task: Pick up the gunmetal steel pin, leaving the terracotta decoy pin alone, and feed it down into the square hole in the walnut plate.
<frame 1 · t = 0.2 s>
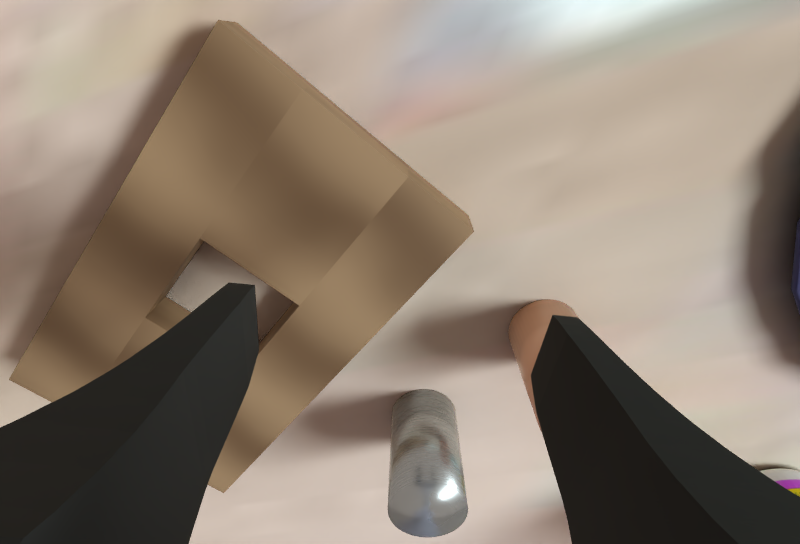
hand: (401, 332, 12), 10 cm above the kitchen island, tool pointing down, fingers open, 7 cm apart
walnut plate: (236, 290, 23), on the kitchen island
steel pin: (423, 414, 26), on the kitchen island
supplement bottle: (759, 500, 29), on the kitchen island
terracotta pin: (543, 330, 24), on the kitchen island
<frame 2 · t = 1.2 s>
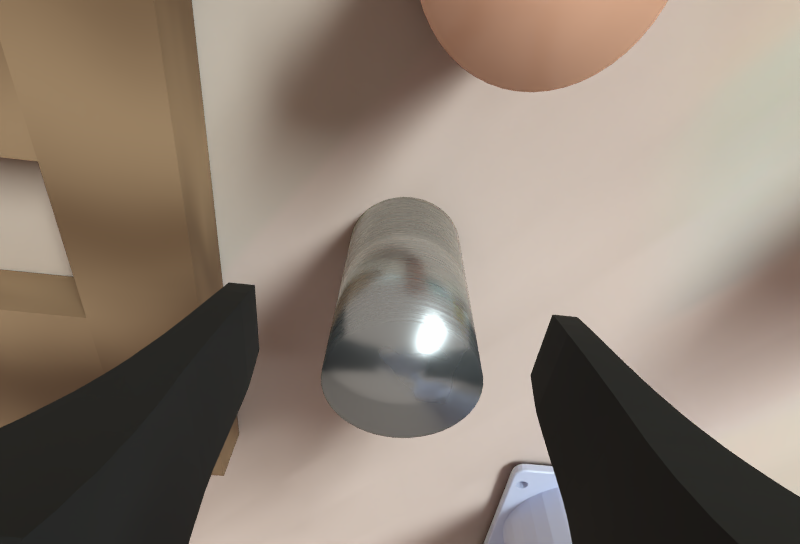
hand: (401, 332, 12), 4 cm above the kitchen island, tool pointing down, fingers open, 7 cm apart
walnut plate: (21, 207, 15), on the kitchen island
steel pin: (404, 247, 15), on the kitchen island
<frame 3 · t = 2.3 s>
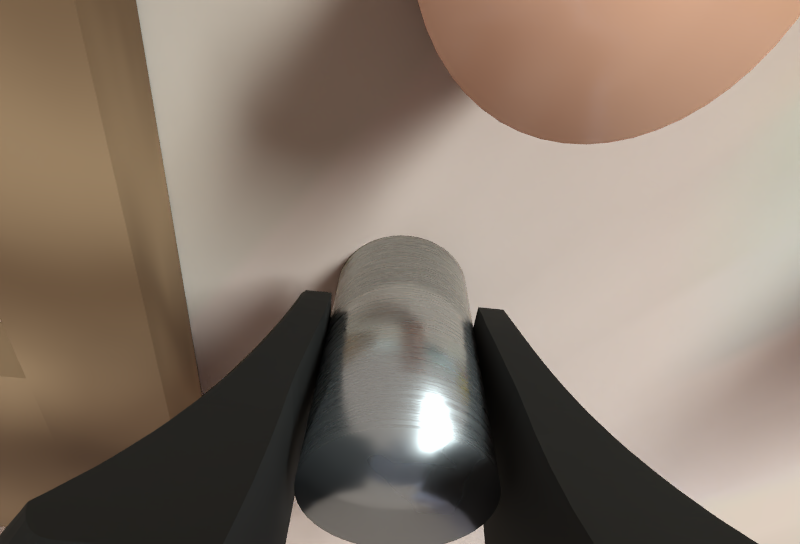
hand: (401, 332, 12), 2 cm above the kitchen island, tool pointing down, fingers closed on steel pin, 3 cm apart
steel pin: (401, 291, 13), on the kitchen island, touching gripper
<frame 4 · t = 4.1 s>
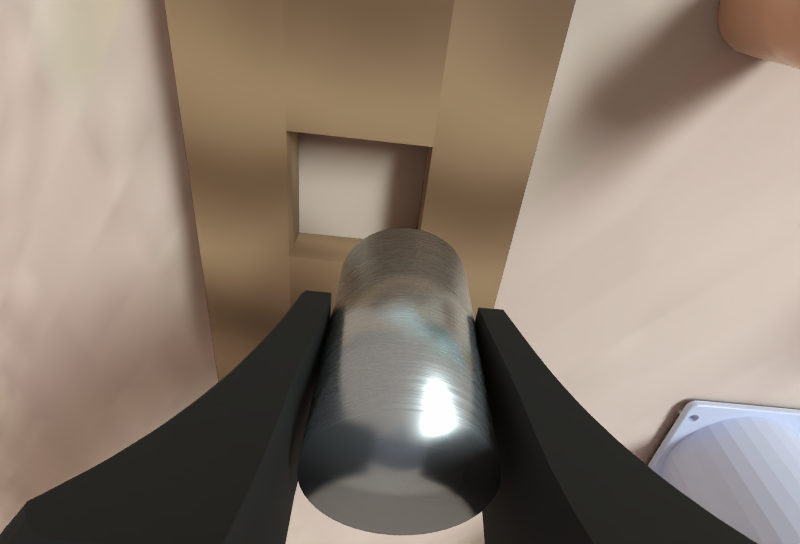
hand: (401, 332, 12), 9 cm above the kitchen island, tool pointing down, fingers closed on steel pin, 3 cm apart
walnut plate: (360, 184, 19), on the kitchen island
steel pin: (403, 283, 13), point 7 cm above the kitchen island, touching gripper
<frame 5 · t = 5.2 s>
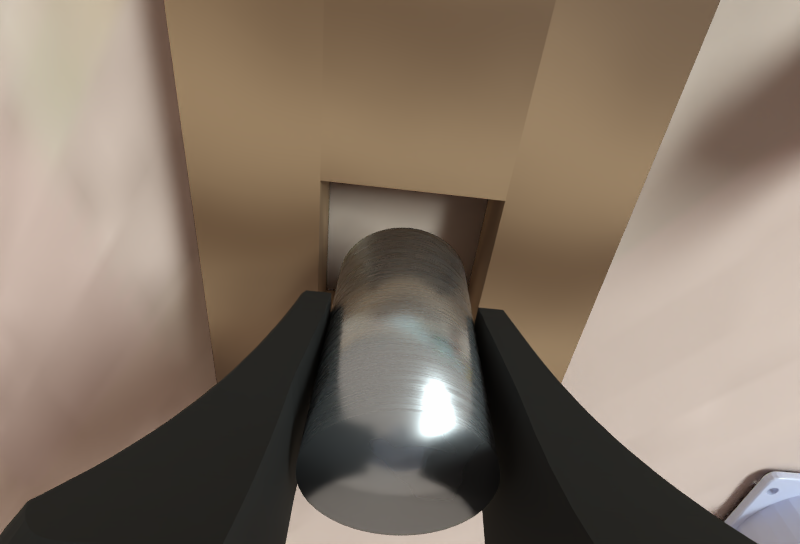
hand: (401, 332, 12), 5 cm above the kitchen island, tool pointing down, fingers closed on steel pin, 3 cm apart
walnut plate: (403, 236, 16), on the kitchen island
steel pin: (402, 283, 13), point 3 cm above the kitchen island, touching gripper
when the fingers open (3 cm above the kitchen island, at t = 6.0 s): steel pin drops 1 cm, resting in walnut plate.
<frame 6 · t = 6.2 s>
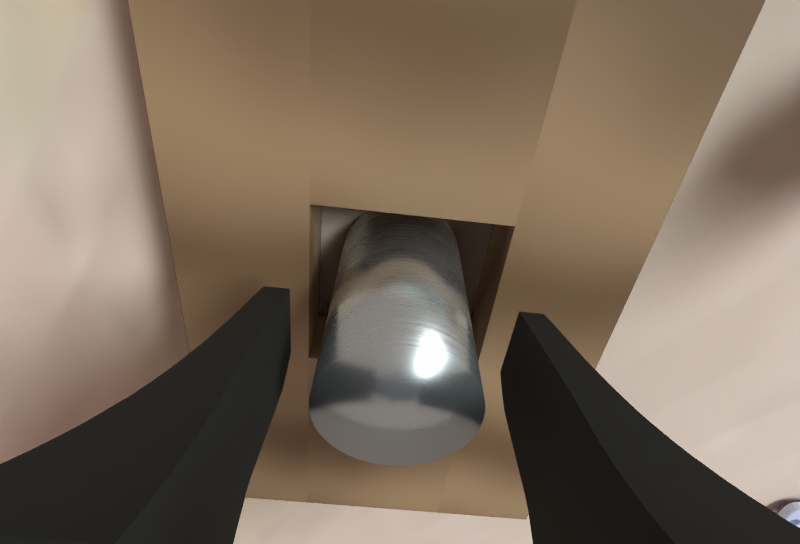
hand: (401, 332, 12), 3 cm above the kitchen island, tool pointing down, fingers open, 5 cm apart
walnut plate: (402, 259, 15), on the kitchen island
steel pin: (400, 255, 15), resting in walnut plate
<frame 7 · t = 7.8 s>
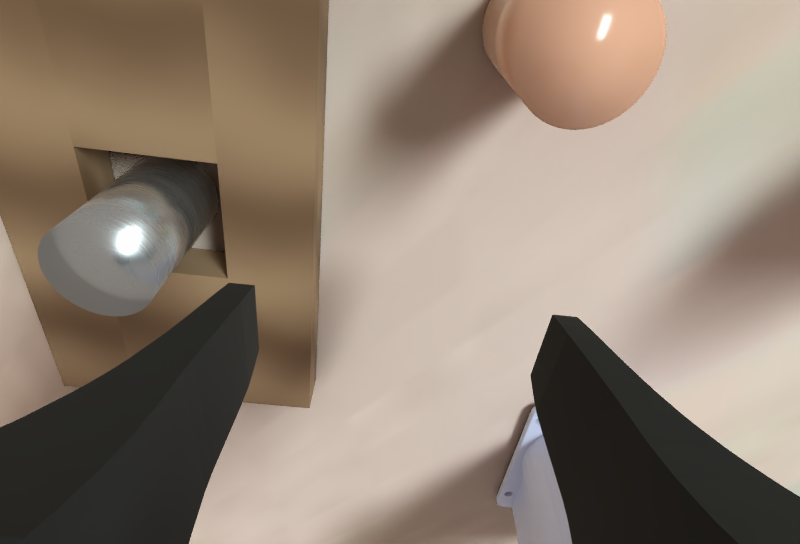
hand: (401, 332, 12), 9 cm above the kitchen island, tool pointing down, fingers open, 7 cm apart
walnut plate: (177, 196, 20), on the kitchen island
steel pin: (176, 193, 20), resting in walnut plate
terracotta pin: (533, 26, 16), on the kitchen island
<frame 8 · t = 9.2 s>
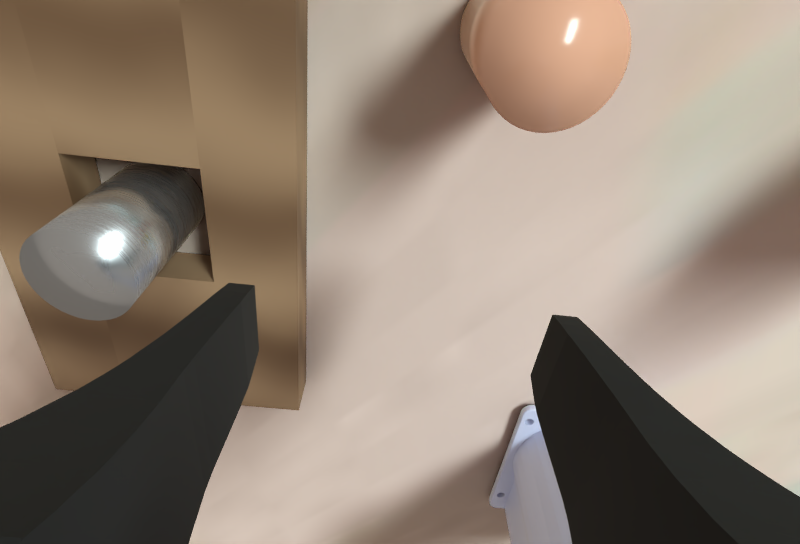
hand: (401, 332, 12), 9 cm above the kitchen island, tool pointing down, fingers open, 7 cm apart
walnut plate: (164, 201, 20), on the kitchen island
steel pin: (162, 198, 20), resting in walnut plate
terracotta pin: (510, 30, 16), on the kitchen island
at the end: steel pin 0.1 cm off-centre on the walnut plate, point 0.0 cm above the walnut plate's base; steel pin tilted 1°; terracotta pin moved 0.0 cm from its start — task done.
